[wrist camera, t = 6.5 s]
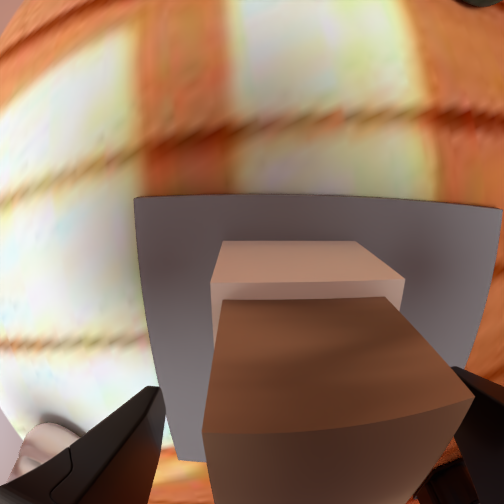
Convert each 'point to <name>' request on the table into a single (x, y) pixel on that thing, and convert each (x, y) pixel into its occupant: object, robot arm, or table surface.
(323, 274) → the cream block
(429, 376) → the walnut block
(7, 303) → the table surface
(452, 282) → the build mat
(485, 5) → the coffee jar
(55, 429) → the plastic bottle
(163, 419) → the robot arm
